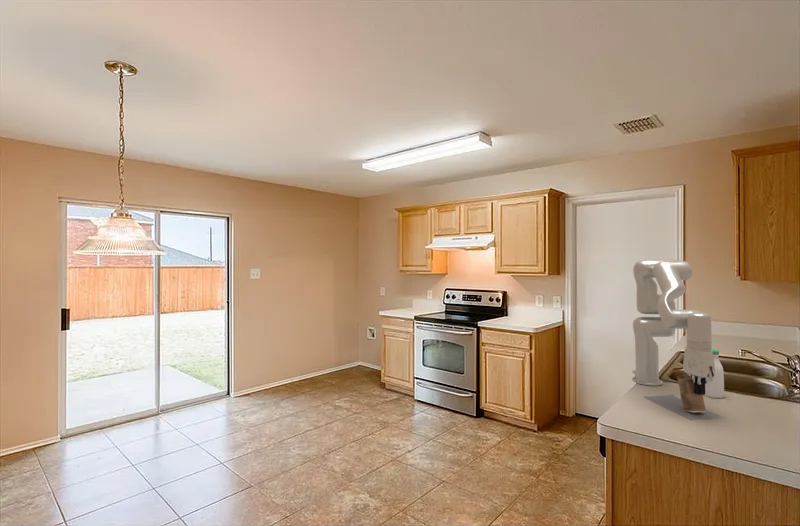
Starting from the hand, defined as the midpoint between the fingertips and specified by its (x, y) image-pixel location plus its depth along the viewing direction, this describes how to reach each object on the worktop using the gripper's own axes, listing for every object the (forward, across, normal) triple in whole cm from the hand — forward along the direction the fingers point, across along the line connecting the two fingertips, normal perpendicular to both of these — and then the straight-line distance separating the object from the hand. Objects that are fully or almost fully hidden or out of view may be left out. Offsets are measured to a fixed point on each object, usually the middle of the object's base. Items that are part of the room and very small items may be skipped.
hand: (699, 393), depth 154 cm
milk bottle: (+9, -20, +24) cm, 33 cm away
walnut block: (+8, -2, 0) cm, 8 cm away
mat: (+8, -9, 0) cm, 13 cm away
